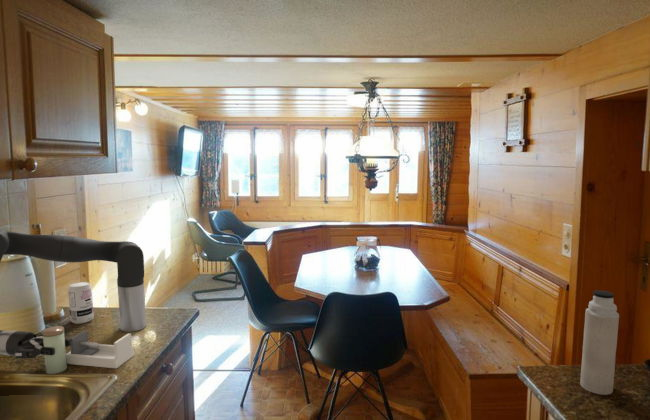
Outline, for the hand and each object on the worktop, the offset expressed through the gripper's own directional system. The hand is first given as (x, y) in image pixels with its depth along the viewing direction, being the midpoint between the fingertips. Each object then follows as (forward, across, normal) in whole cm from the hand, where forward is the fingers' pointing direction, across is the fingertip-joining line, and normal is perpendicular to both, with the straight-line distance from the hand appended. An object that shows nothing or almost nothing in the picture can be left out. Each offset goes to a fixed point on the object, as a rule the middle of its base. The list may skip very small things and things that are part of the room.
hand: (61, 347), depth 137 cm
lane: (+5, +8, +8) cm, 13 cm away
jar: (-3, 0, +8) cm, 8 cm away
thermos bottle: (+158, +18, +8) cm, 159 cm away
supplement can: (-24, +38, +8) cm, 45 cm away
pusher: (+2, +8, +6) cm, 11 cm away
